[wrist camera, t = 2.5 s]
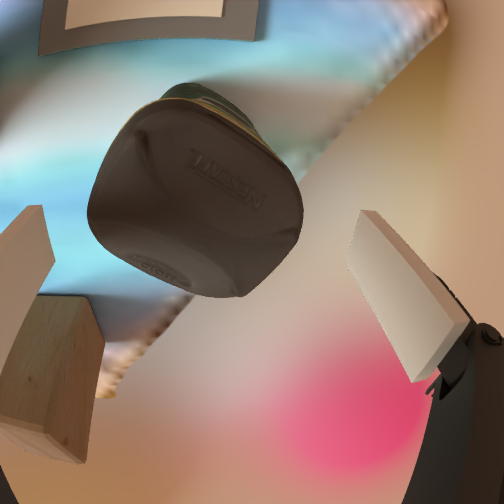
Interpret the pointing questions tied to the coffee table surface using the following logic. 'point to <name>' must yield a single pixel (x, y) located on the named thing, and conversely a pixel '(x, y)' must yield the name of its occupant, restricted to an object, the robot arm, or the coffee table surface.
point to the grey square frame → (142, 21)
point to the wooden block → (52, 379)
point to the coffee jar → (195, 196)
